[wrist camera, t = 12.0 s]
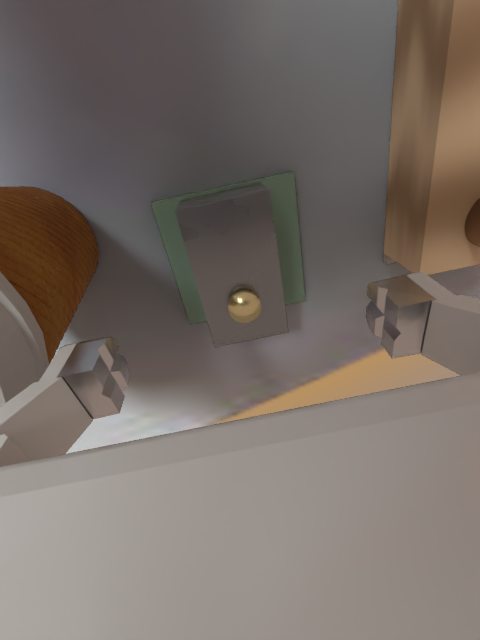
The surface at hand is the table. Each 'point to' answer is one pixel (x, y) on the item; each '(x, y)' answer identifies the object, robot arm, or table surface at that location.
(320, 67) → the table surface
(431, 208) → the plane body
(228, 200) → the lever cap
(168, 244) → the felt pad
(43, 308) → the disposable coffee cup
